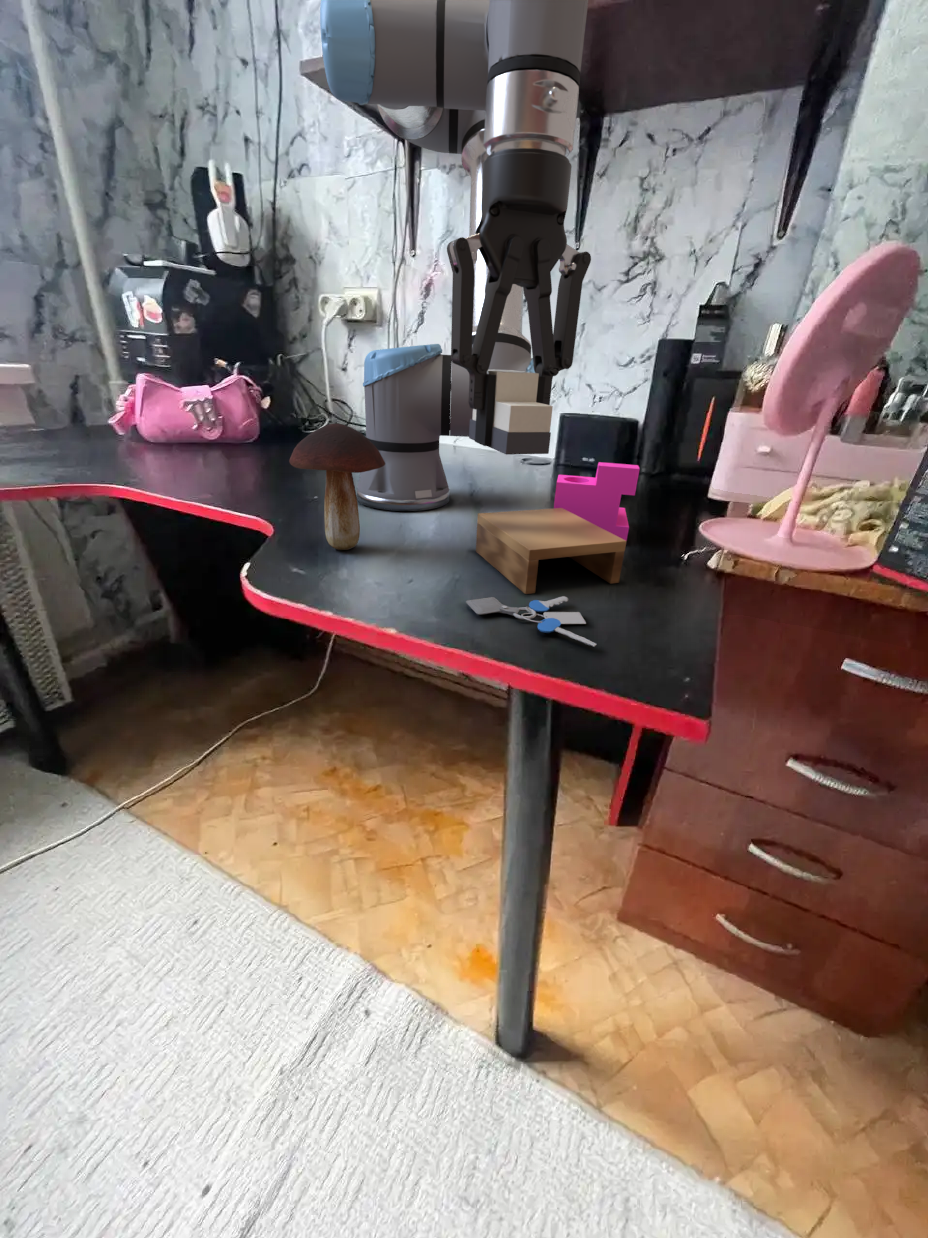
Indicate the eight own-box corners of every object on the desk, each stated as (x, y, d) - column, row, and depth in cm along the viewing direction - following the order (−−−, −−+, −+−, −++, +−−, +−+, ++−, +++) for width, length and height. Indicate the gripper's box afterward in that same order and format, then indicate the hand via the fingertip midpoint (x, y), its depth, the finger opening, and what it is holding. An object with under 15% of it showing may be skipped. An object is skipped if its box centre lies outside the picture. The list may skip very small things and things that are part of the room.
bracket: (625, 545, 75) (639, 468, 70) (550, 537, 76) (558, 462, 72) (621, 521, 85) (633, 453, 81) (554, 515, 87) (562, 448, 82)
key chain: (456, 611, 53) (456, 603, 53) (494, 584, 60) (495, 577, 60) (594, 652, 47) (595, 643, 47) (620, 617, 54) (622, 610, 53)
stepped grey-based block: (468, 438, 60) (472, 368, 57) (506, 438, 62) (512, 369, 59) (505, 454, 52) (512, 373, 49) (548, 453, 53) (557, 375, 50)
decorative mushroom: (400, 542, 72) (399, 422, 65) (361, 570, 62) (355, 433, 56) (326, 531, 75) (318, 415, 68) (278, 556, 65) (263, 424, 59)
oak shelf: (475, 551, 70) (477, 513, 68) (557, 544, 74) (561, 507, 72) (525, 594, 58) (529, 549, 56) (619, 582, 62) (626, 540, 60)
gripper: (442, 125, 40) (436, 451, 51) (641, 161, 46) (599, 448, 56) (415, 153, 46) (414, 438, 57) (593, 182, 52) (563, 436, 63)
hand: (506, 442), depth 57 cm, fingers closed on stepped grey-based block, 5 cm apart
